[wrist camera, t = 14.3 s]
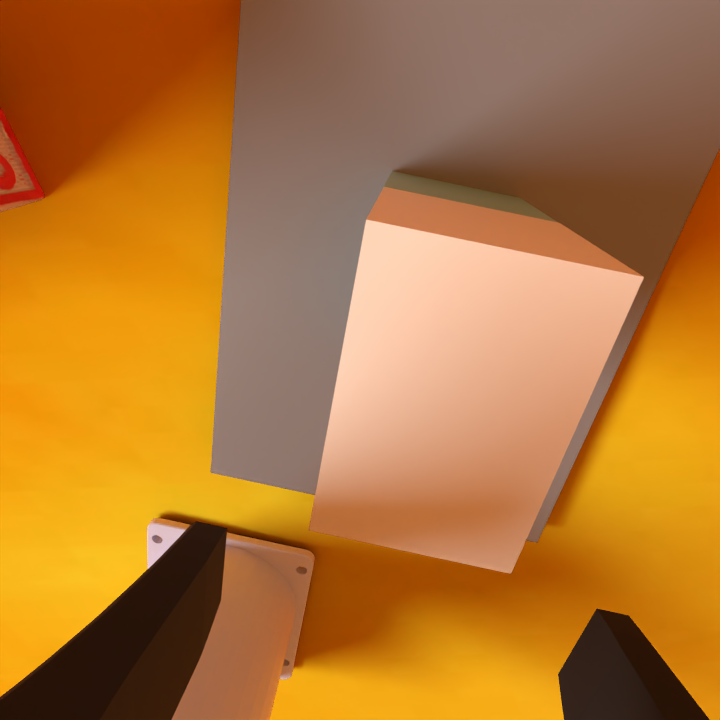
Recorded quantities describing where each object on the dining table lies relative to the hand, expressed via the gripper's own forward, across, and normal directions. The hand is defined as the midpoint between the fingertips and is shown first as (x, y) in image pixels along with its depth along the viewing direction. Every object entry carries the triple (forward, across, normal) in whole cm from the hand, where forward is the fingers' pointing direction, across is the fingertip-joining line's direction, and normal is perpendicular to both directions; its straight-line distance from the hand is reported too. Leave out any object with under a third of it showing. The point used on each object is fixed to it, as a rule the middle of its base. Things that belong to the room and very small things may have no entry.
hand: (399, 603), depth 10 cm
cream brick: (+5, 0, -4) cm, 6 cm away
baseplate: (+10, 0, -4) cm, 11 cm away
